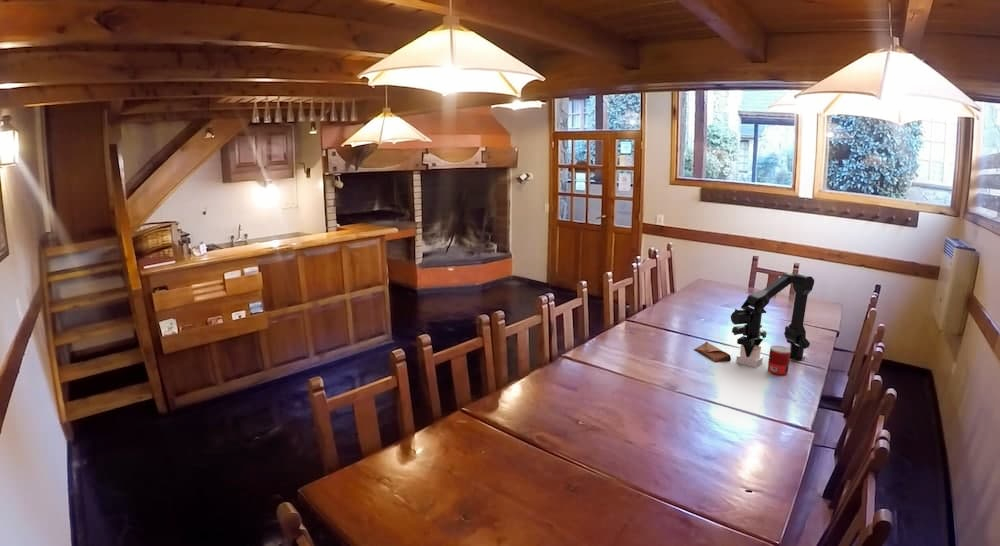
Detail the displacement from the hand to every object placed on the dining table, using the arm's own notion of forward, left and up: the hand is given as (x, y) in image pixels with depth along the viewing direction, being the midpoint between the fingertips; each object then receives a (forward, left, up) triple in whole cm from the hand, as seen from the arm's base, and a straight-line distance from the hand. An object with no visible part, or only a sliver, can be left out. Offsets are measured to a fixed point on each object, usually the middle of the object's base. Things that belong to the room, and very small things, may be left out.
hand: (749, 355), depth 267 cm
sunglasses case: (+3, -17, -4) cm, 17 cm away
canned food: (+2, +13, -4) cm, 14 cm away
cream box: (0, 0, -1) cm, 1 cm away
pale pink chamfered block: (0, 0, -4) cm, 4 cm away
